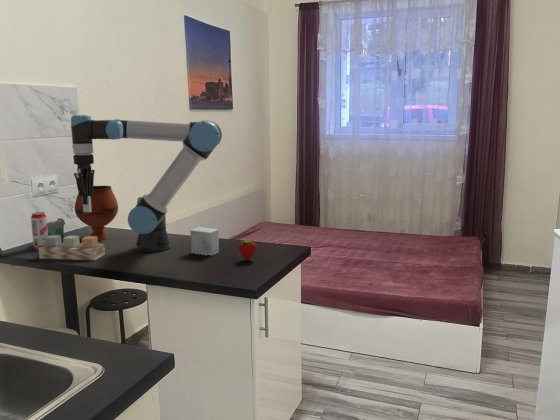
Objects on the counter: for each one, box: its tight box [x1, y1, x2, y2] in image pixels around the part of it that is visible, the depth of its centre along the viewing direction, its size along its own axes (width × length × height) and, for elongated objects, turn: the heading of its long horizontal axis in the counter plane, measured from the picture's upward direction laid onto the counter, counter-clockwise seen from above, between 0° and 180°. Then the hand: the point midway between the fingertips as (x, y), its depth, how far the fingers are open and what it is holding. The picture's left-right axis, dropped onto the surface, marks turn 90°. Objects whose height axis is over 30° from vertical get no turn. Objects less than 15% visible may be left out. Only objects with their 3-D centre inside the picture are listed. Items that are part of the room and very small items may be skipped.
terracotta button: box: [81, 235, 99, 249], centre depth 208 cm, size 5×5×4 cm
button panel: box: [38, 242, 106, 261], centre depth 209 cm, size 24×9×4 cm, turn 84°
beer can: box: [30, 211, 48, 251], centre depth 221 cm, size 6×6×16 cm
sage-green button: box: [62, 235, 81, 248], centre depth 209 cm, size 5×5×4 cm
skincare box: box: [190, 226, 220, 257], centre depth 214 cm, size 10×6×10 cm, turn 65°
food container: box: [47, 217, 66, 243], centre depth 233 cm, size 12×6×10 cm, turn 168°
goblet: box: [74, 185, 119, 241], centre depth 238 cm, size 19×19×25 cm
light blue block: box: [45, 235, 63, 248], centre depth 209 cm, size 5×5×4 cm
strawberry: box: [238, 239, 258, 261], centre depth 203 cm, size 6×8×10 cm
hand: (87, 211), depth 205 cm, fingers closed
